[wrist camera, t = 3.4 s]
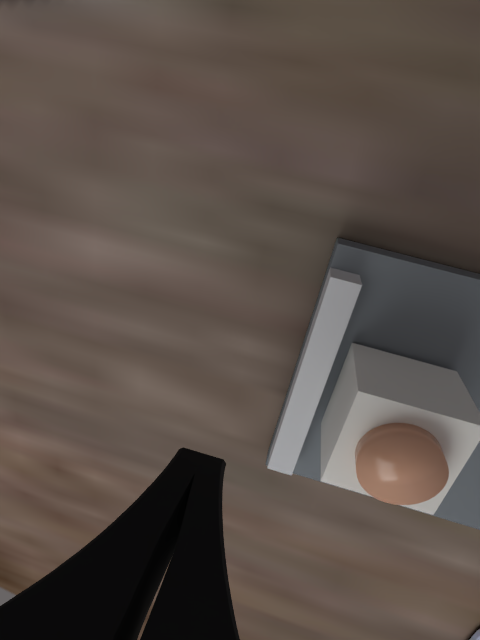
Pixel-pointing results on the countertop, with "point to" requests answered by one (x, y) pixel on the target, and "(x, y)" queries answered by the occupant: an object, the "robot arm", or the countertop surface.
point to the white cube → (397, 429)
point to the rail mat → (386, 335)
